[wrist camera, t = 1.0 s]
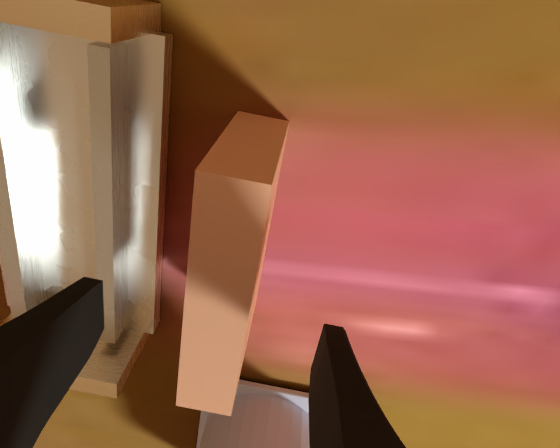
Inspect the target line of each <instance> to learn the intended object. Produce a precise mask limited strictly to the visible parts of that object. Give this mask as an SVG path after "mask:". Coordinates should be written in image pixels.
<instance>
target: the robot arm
mask: <svg viewBox="0 0 560 448" xmlns="http://www.w3.org/2000/svg"><path fill="white" fill-rule="evenodd" d="M103 330H104V301H103V280H98V279H93V278H88V277H83V278H81V279H79V280H78V281H76V282H74V283H73V284H71V285H70V286H68V287H66V288H65V289H63V290H61V291H60V292H58V293H57V294H55V295H53V296H52V297H50V298H48V299H47V300H45V301H44V302H42V303H40V304H39V305H37V306H35V307H33V308H32V309H30V310H28V311H27V312H25V313H23V314H21V315H20V316H18V317H16V318H14V319H12V320H10V321H8V322H7V323H5V324H3V325H1V326H0V448H33V446H34V444H35V442H36V440H37V438H38V437H39V435H40V433H41V431H42V429H43V428H44V426H45V425H46V423H47V421H48V420H49V418H50V417H51V415H52V414H53V412H54V411H55V409H56V408H57V406H58V405H59V403H60V402H61V400H62V399H63V397H64V396H65V394H66V393H67V391H68V390H69V388H70V387H71V385H72V384H73V382H74V381H75V379H76V378H77V376H78V375H79V373H80V372H81V370H82V369H83V367H84V366H85V364H86V363H87V361H88V360H89V358H90V356H91V355H92V353H93V351H94V349H95V347H96V345H97V343H98V341H99V339H100V337H101V334H102V332H103ZM196 448H406V447H405V446H404V444H403V443H402V441H401V440H400V438H399V437H398V435H397V434H396V432H395V431H394V429H393V428H392V426H391V425H390V423H389V422H388V420H387V418H386V417H385V415H384V413H383V411H382V410H381V408H380V406H379V404H378V403H377V401H376V399H375V397H374V395H373V393H372V391H371V390H370V388H369V386H368V384H367V381H366V379H365V377H364V375H363V373H362V371H361V369H360V367H359V364H358V362H357V360H356V357H355V355H354V353H353V350H352V348H351V345H350V342H349V340H348V337H347V334H346V331H345V330H344V328H343V327H339V326H334V325H329V324H324V326H323V329H322V333H321V336H320V340H319V343H318V347H317V350H316V353H315V357H314V360H313V364H312V367H311V375H310V386H309V393H306V392H301V391H296V390H291V389H286V388H280V387H275V386H270V385H265V384H260V383H255V382H250V381H245V380H240V379H239V382H238V386H237V391H236V396H235V400H234V405H233V409H232V414H231V416H226V415H221V414H216V413H211V412H206V411H201V414H200V422H199V430H198V438H197V446H196Z"/></svg>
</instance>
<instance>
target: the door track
mask: <svg viewBox="0 0 560 448" xmlns="http://www.w3.org/2000/svg"><path fill="white" fill-rule="evenodd" d="M161 12H162V4H161V3H156V2H151V1H146V0H0V265H1V271H2V277H3V283H4V289H5V295H6V300H7V306H10V309H11V314H10V315H9V316H8V317H7V318H6V319H5V320H4V321H3V322H2V323H1V324H0V326H1V325H3V324H5V323H7V322H8V321H10V320H12V319H14V318H16V317H18V316H20V315H21V314H23V313H25V312H27V311H28V310H30V309H32V308H33V307H35V306H37V305H39V304H40V303H42V302H44V301H45V300H47V299H48V298H50V297H52V296H53V295H55V294H57V293H58V292H60V291H61V290H63V289H65V288H66V287H68V286H70V285H71V284H73V283H74V282H76V281H78V280H79V279H81V278H83V277H88V278H93V279H98V280H103V301H104V330H103V332H102V334H101V337H100V339H99V341H98V343H97V345H96V347H95V349H94V351H93V353H92V355H91V356H90V358H89V360H88V361H87V363H86V364H85V366H84V367H83V369H82V370H81V372H80V373H79V375H78V376H77V378H76V379H75V381H74V382H73V384H72V385H71V387H70V388H69V389H71V390H76V391H81V392H86V393H91V394H97V395H102V396H107V397H112V398H117V397H118V395H119V393H120V392H121V390H122V388H123V386H124V384H125V382H126V380H127V378H128V376H129V374H130V372H131V370H132V368H133V366H134V364H135V362H136V360H137V358H138V356H139V354H140V352H141V351H142V349H143V347H144V345H145V343H146V341H147V339H148V337H149V335H150V334H154V332H155V330H156V328H157V326H158V324H159V322H160V301H161V281H162V260H163V239H164V218H165V197H166V176H167V155H168V135H169V114H170V93H171V72H172V51H173V34H169V33H164V32H161Z"/></svg>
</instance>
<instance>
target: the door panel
mask: <svg viewBox="0 0 560 448" xmlns="http://www.w3.org/2000/svg"><path fill="white" fill-rule="evenodd" d="M288 126H289V121H287V120H282V119H277V118H271V117H266V116H261V115H256V114H251V113H246V112H241V111H238V112H237V113H236V115H235V116H234V117H233V119H232V120H231V121H230V123H229V124H228V126H227V127H226V128H225V130H224V131H223V132H222V134H221V135H220V137H219V138H218V139H217V141H216V142H215V143H214V145H213V146H212V148H211V149H210V150H209V152H208V153H207V154H206V156H205V157H204V159H203V160H202V161H201V163H200V164H199V165H198V167H197V168H196V170H195V177H194V189H193V201H192V214H191V226H190V238H189V250H188V262H187V274H186V287H185V299H184V311H183V323H182V335H181V347H180V360H179V372H178V384H177V396H176V406H180V407H185V408H190V409H196V410H201V411H206V412H211V413H216V414H221V415H226V416H231V414H232V409H233V405H234V400H235V396H236V391H237V386H238V382H239V377H240V373H241V368H242V364H243V359H244V355H245V350H246V346H247V341H248V337H249V332H250V327H251V323H252V318H253V314H254V309H255V305H256V299H257V294H258V289H259V283H260V278H261V272H262V267H263V261H264V256H265V251H266V245H267V240H268V234H269V229H270V223H271V218H272V213H273V207H274V202H275V196H276V191H277V185H278V180H279V175H280V169H281V164H282V158H283V153H284V147H285V142H286V137H287V131H288Z"/></svg>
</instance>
